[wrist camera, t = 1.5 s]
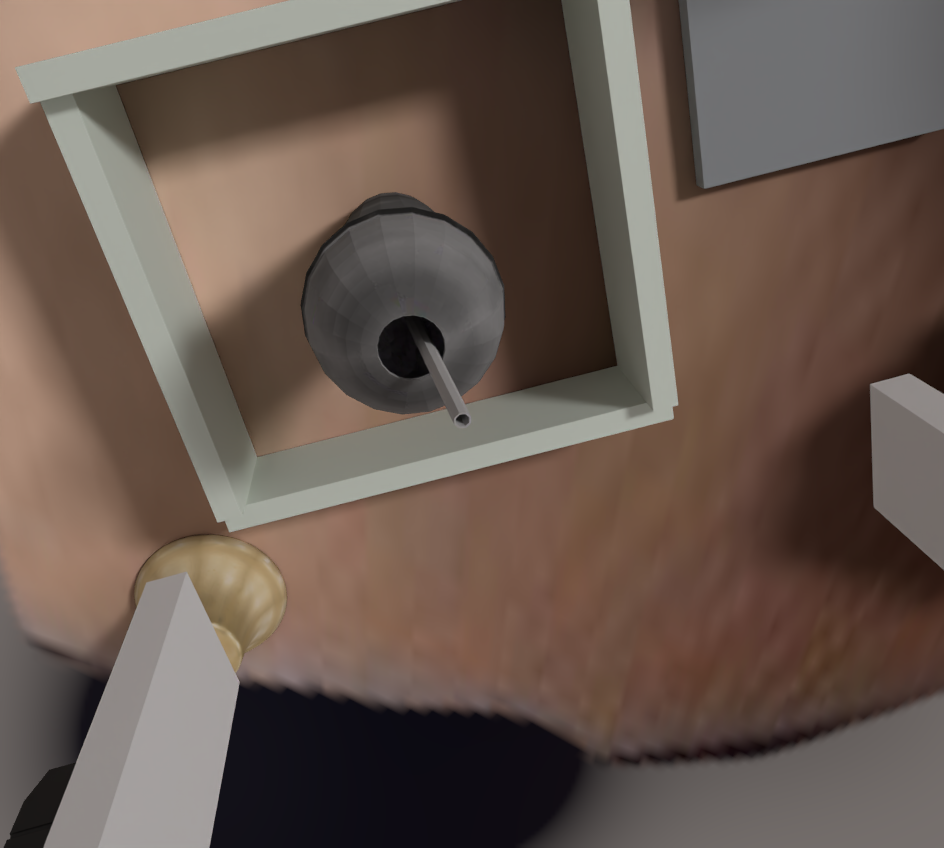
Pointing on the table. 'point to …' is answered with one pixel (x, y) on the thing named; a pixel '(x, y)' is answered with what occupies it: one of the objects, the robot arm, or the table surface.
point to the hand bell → (225, 587)
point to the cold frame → (404, 442)
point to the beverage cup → (404, 308)
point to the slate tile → (807, 80)
